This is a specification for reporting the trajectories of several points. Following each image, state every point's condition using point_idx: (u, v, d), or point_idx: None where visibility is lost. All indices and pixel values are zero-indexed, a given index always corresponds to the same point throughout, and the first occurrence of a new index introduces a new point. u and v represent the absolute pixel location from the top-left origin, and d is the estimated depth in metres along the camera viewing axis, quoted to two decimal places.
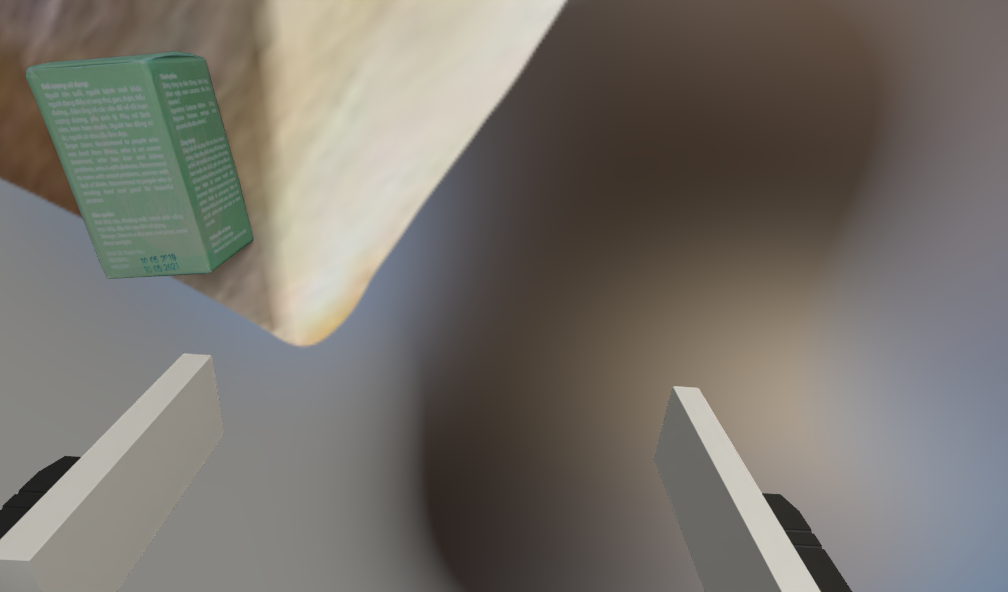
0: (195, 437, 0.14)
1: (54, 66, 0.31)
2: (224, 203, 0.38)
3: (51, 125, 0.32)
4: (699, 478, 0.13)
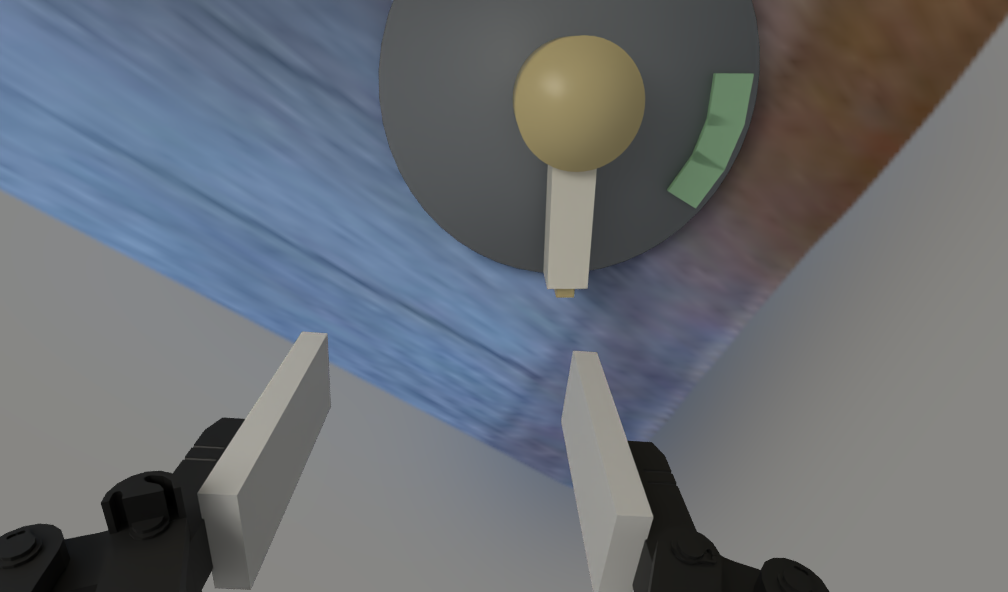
0: (316, 406, 0.16)
1: None
2: None
3: None
4: (582, 429, 0.15)
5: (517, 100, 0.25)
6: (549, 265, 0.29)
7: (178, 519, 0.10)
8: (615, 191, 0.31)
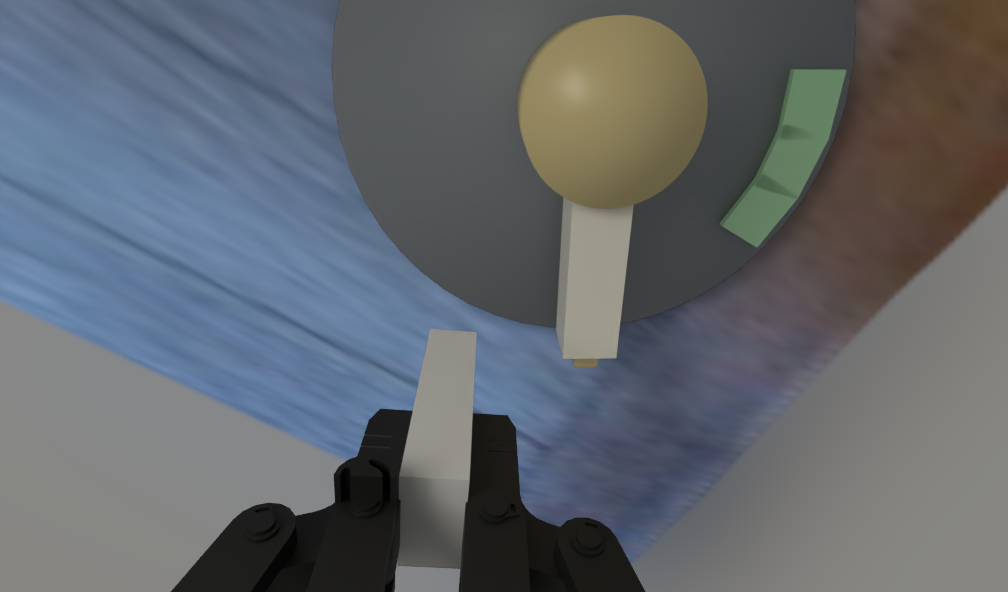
0: None
1: None
2: None
3: None
4: None
5: (524, 109, 0.17)
6: (566, 329, 0.22)
7: (389, 506, 0.11)
8: (651, 226, 0.24)
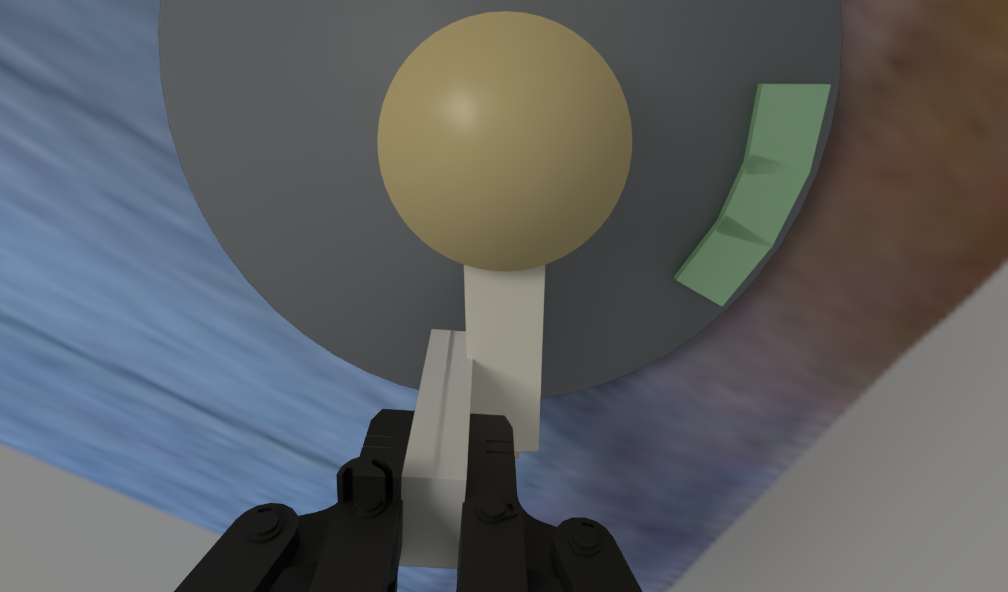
0: None
1: None
2: None
3: None
4: None
5: (379, 142, 0.13)
6: None
7: (391, 506, 0.11)
8: (587, 279, 0.19)
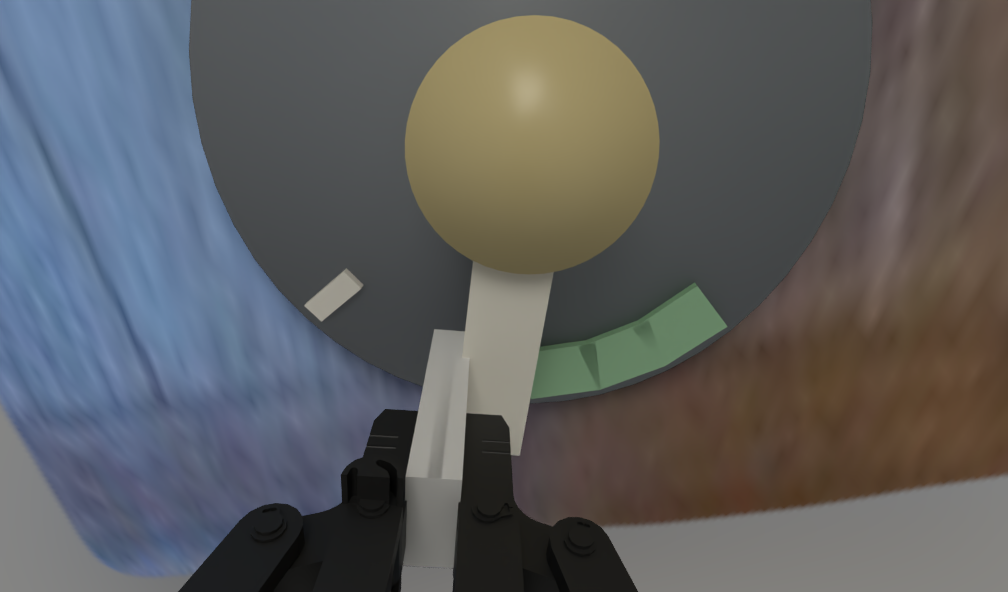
0: None
1: None
2: None
3: None
4: None
5: (408, 128, 0.13)
6: None
7: (395, 506, 0.11)
8: (466, 293, 0.19)
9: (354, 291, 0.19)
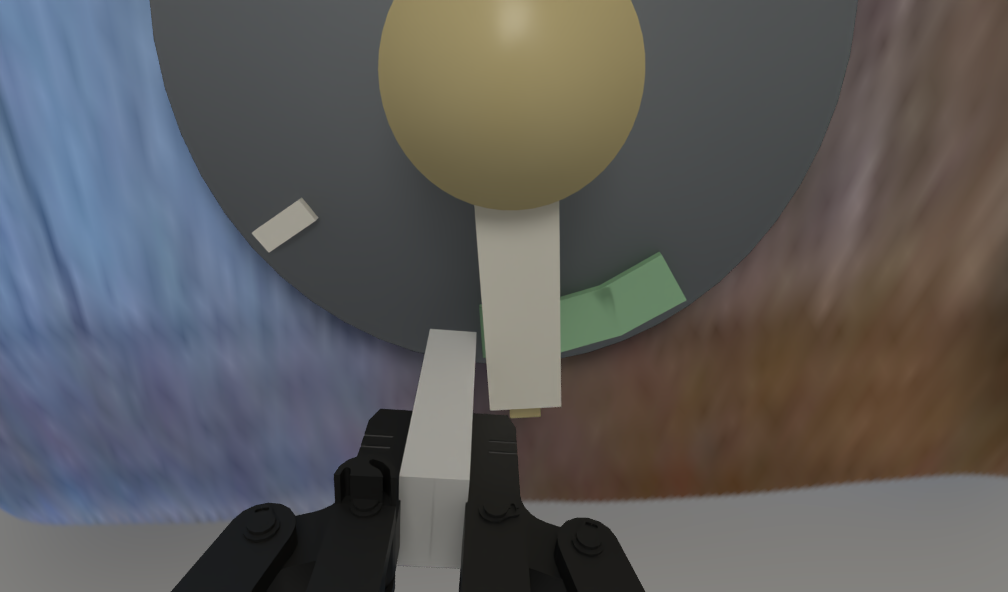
0: None
1: None
2: None
3: None
4: None
5: (380, 75, 0.12)
6: (489, 373, 0.16)
7: (389, 506, 0.11)
8: (427, 239, 0.18)
9: (308, 223, 0.17)
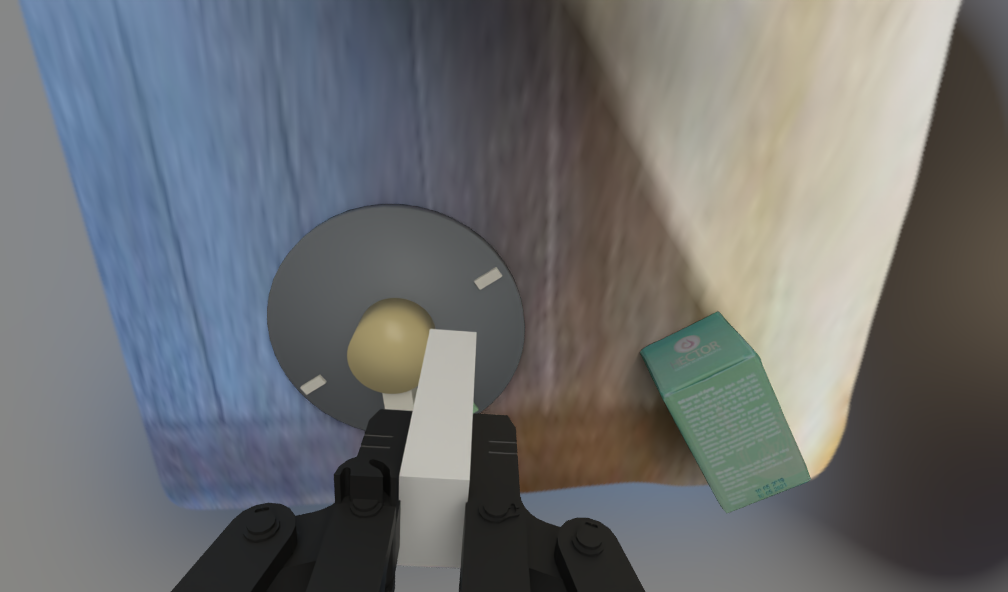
0: None
1: (685, 385, 0.39)
2: None
3: (685, 425, 0.40)
4: None
5: (348, 358, 0.39)
6: None
7: (389, 506, 0.11)
8: None
9: (322, 384, 0.44)
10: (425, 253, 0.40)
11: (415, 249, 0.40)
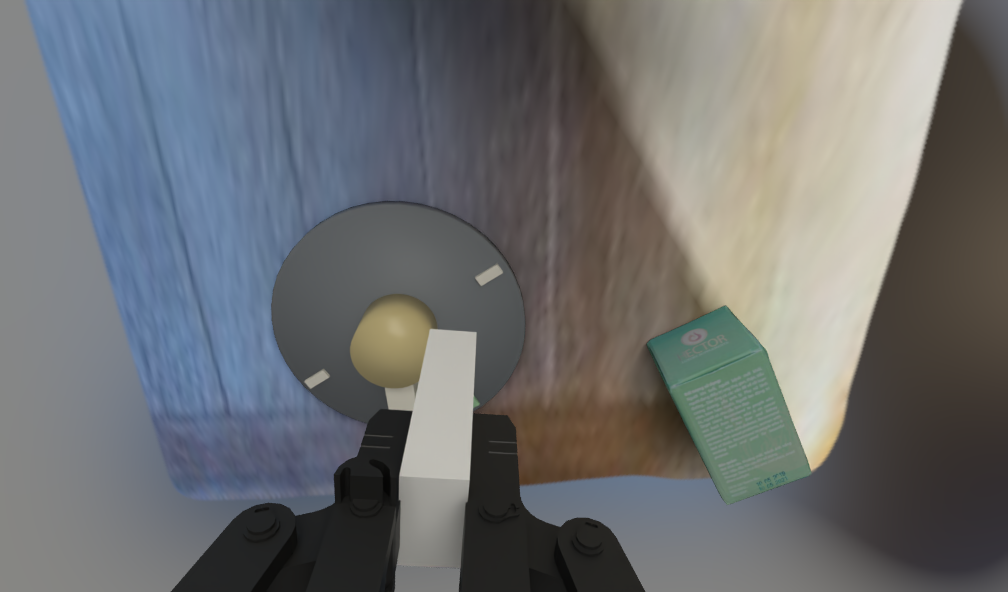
0: None
1: (692, 377, 0.39)
2: None
3: (690, 417, 0.41)
4: None
5: (350, 353, 0.40)
6: None
7: (389, 506, 0.11)
8: None
9: (326, 378, 0.45)
10: (427, 250, 0.41)
11: (417, 246, 0.41)
